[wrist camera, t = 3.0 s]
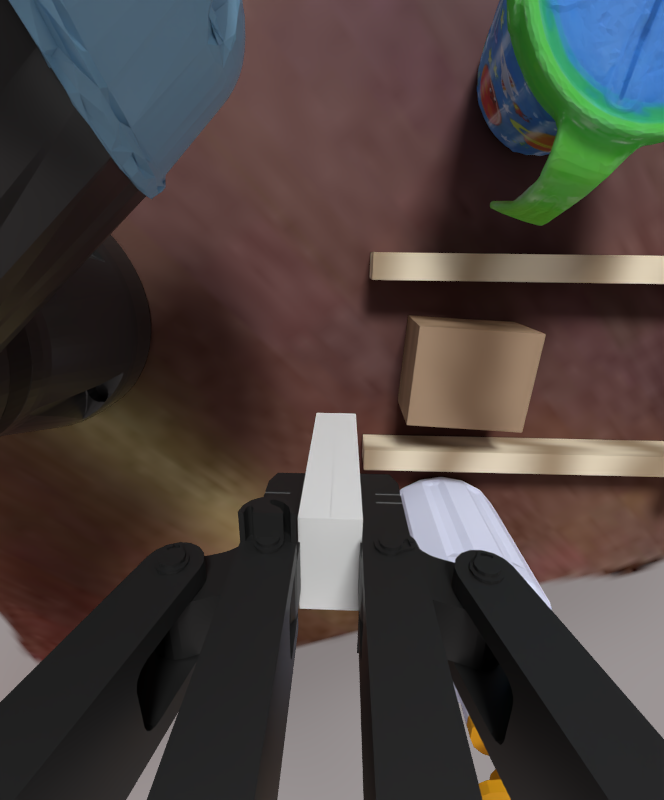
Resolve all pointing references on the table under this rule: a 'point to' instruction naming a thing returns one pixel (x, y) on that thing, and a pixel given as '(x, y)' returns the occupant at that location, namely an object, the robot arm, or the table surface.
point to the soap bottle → (450, 536)
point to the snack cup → (572, 92)
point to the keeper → (468, 373)
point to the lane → (515, 451)
